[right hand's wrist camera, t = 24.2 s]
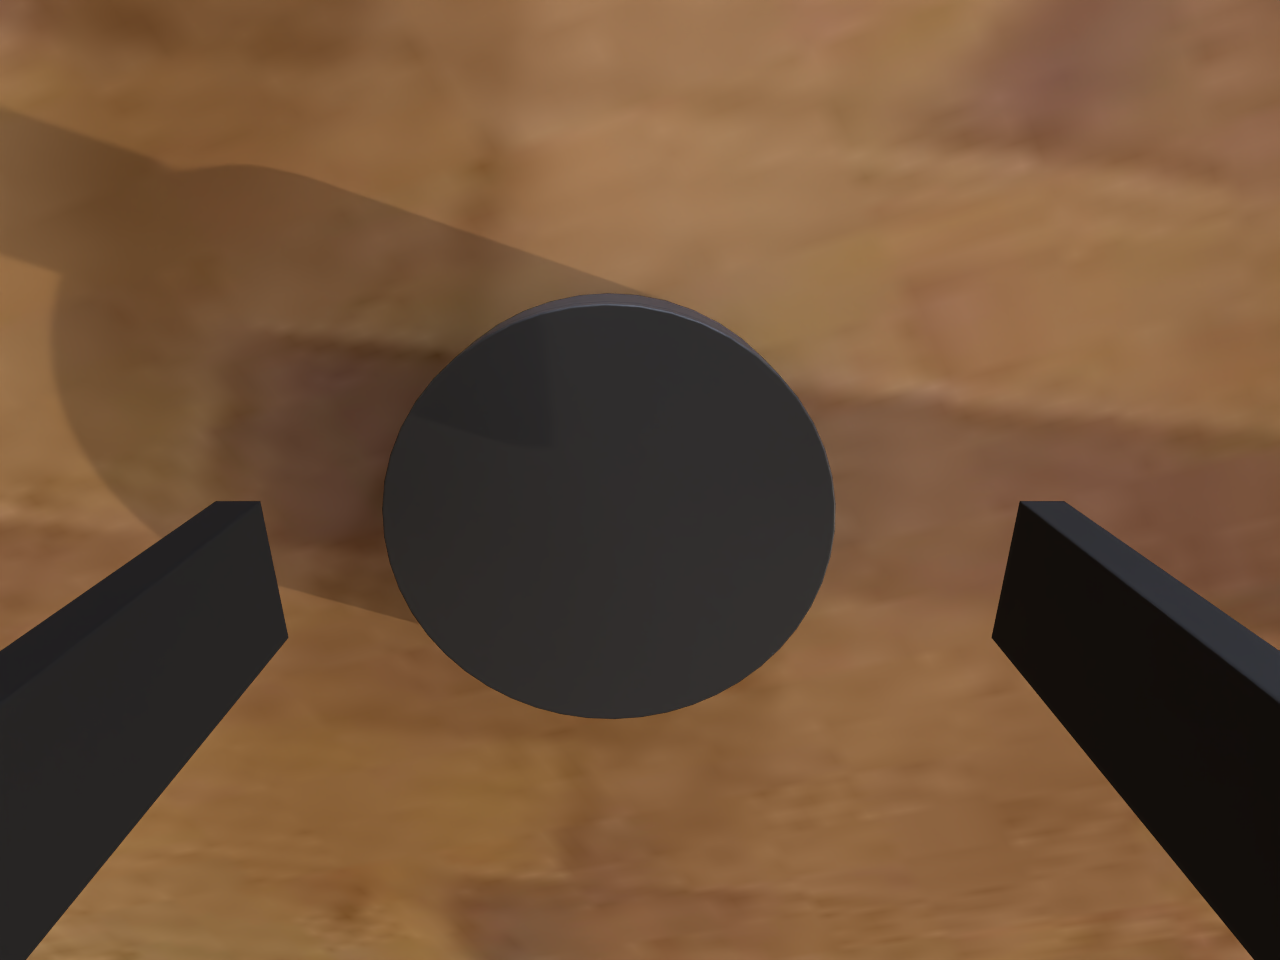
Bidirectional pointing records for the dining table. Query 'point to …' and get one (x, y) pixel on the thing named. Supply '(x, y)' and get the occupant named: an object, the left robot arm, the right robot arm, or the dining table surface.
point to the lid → (609, 508)
